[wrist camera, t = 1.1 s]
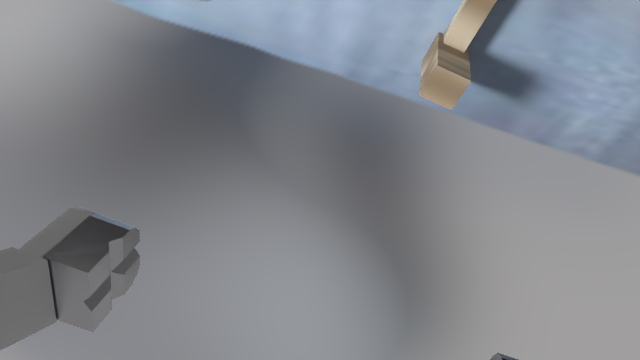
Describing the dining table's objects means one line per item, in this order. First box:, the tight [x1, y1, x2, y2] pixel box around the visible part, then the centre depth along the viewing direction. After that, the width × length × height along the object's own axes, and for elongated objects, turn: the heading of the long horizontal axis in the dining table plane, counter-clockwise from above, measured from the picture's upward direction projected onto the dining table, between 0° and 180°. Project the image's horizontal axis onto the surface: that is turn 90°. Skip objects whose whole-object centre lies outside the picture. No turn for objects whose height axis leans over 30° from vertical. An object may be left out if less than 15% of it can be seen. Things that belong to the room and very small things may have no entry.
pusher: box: [419, 0, 497, 110], centre depth 38 cm, size 14×8×7 cm, turn 159°
